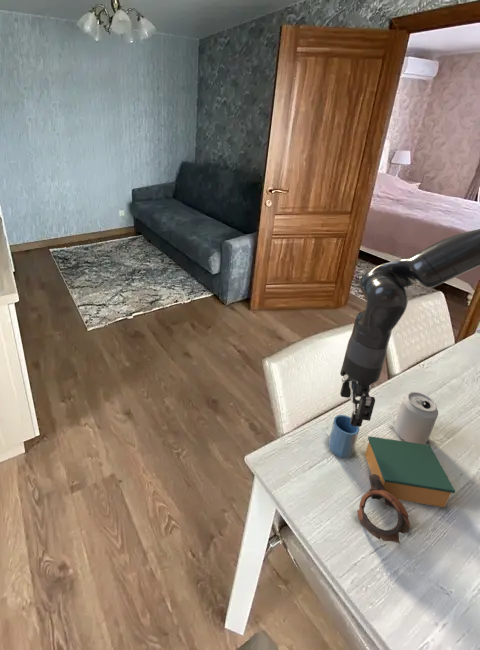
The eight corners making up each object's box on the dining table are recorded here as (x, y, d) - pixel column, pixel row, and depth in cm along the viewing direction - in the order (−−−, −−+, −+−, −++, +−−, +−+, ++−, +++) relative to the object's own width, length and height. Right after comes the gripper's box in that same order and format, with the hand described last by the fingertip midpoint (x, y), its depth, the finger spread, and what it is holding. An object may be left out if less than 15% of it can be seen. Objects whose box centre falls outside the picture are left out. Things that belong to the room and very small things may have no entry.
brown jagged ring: (422, 549, 68) (418, 537, 63) (371, 552, 70) (364, 542, 66) (393, 479, 77) (388, 465, 73) (349, 484, 80) (342, 471, 76)
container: (422, 462, 84) (430, 445, 81) (446, 509, 74) (455, 490, 72) (363, 453, 86) (368, 436, 83) (378, 497, 76) (385, 479, 74)
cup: (348, 439, 89) (355, 416, 86) (355, 459, 84) (362, 436, 81) (326, 435, 90) (331, 413, 87) (331, 455, 85) (337, 432, 82)
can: (423, 453, 86) (437, 418, 81) (389, 435, 90) (401, 401, 86) (428, 434, 91) (442, 399, 86) (396, 417, 95) (408, 384, 91)
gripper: (396, 381, 69) (377, 438, 75) (371, 337, 82) (357, 389, 88) (356, 376, 70) (341, 433, 76) (338, 334, 83) (326, 385, 89)
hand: (349, 409), depth 82 cm, fingers open, 8 cm apart
